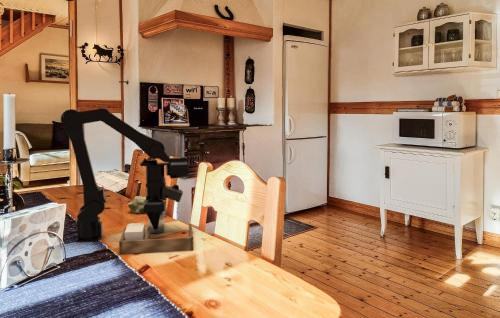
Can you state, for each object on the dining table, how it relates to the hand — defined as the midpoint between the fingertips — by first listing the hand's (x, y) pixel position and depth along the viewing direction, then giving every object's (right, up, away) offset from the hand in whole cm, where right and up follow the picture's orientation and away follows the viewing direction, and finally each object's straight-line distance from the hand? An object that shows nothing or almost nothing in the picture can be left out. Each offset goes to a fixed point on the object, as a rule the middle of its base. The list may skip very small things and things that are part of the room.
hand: (156, 227), depth 131 cm
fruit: (-12, +1, +26) cm, 28 cm away
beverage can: (-3, 0, +19) cm, 19 cm away
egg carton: (-3, -3, -12) cm, 13 cm away
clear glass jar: (0, -1, 0) cm, 1 cm away
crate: (+3, -3, -11) cm, 12 cm away
